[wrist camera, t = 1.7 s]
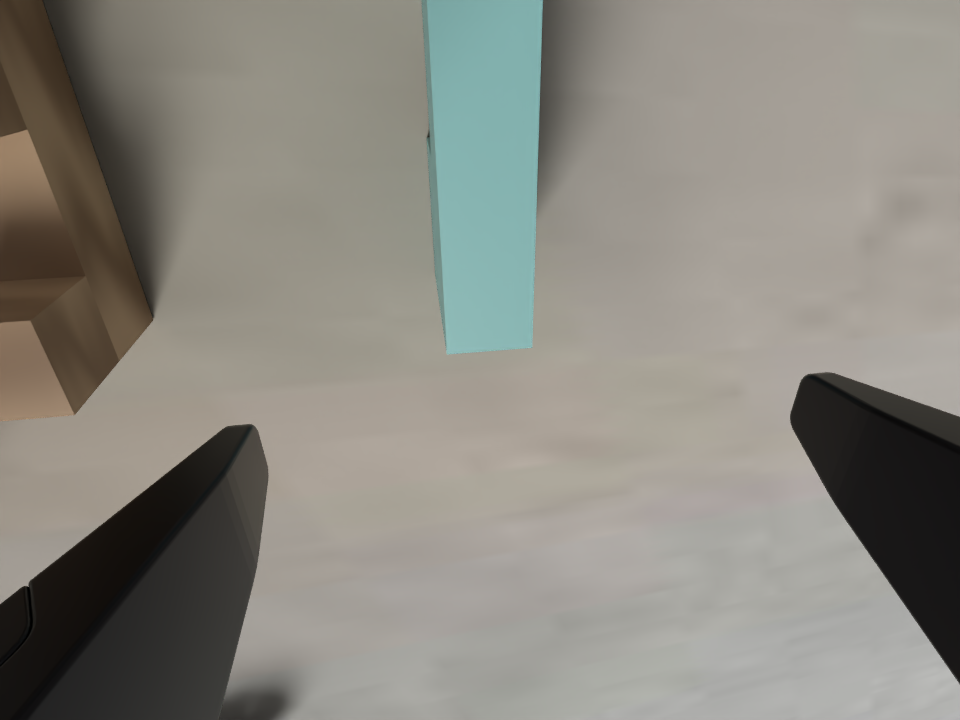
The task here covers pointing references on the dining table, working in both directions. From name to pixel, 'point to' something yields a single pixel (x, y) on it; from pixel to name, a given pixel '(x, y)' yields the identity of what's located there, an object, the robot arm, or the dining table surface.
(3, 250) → the walnut slotted board
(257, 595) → the dining table surface
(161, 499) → the robot arm
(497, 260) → the teal notched plate
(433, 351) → the dining table surface
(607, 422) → the dining table surface
